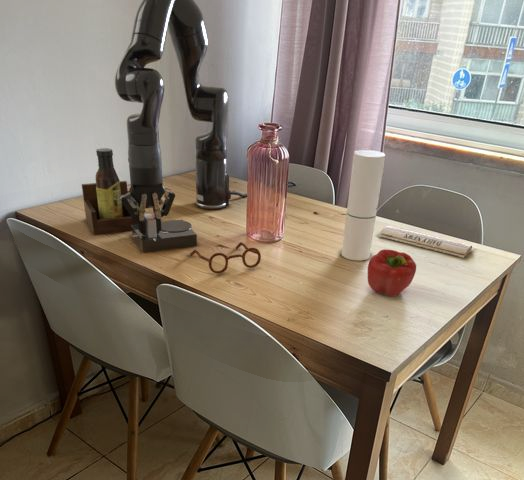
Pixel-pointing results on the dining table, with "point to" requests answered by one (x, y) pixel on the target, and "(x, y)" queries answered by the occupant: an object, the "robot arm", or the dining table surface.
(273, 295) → the dining table surface
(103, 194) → the sauce bottle
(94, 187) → the spice rack
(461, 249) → the newspaper
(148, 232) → the knob
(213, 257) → the glasses
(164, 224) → the burner ring
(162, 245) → the hob
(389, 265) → the vegetable
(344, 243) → the cylindrical container
